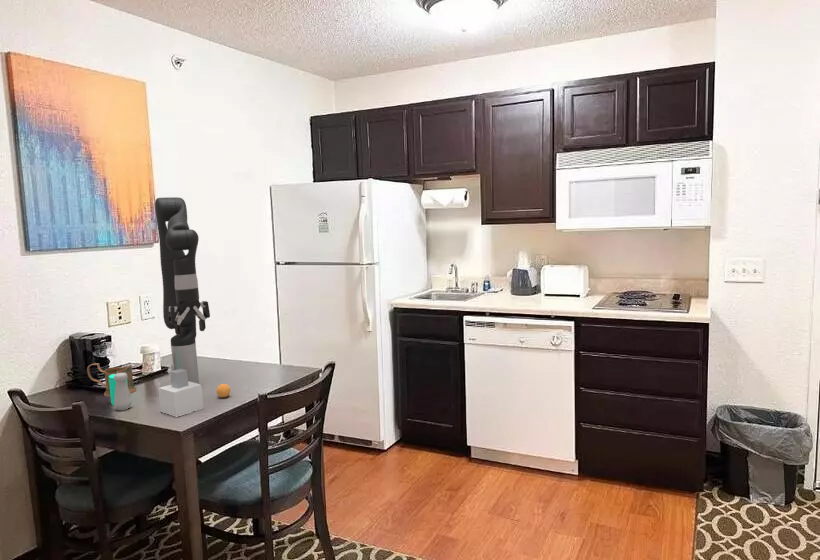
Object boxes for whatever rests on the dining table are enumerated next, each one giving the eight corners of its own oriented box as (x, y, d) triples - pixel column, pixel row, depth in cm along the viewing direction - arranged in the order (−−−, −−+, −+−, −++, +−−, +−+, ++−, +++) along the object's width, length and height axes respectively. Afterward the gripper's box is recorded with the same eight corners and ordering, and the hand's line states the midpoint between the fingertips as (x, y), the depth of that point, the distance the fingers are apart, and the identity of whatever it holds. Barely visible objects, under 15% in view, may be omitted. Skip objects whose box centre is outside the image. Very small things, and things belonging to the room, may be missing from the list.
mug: (98, 389, 230) (95, 360, 229) (141, 387, 230) (138, 358, 229) (82, 398, 219) (78, 367, 217) (128, 396, 219) (124, 365, 217)
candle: (107, 404, 209) (104, 373, 208) (121, 399, 215) (117, 368, 213) (119, 406, 207) (116, 374, 206) (133, 400, 212) (129, 369, 211)
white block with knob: (176, 417, 191) (172, 376, 190) (160, 412, 197) (156, 372, 196) (203, 408, 199) (200, 369, 198) (187, 404, 206) (183, 365, 204)
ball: (215, 399, 209) (214, 386, 208) (218, 395, 214) (217, 382, 213) (229, 398, 210) (228, 385, 209) (232, 394, 215) (231, 381, 214)
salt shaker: (131, 410, 201) (127, 374, 200) (113, 412, 200) (109, 376, 198) (134, 405, 207) (130, 370, 206) (116, 407, 205) (113, 372, 204)
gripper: (172, 290, 190) (176, 337, 191) (211, 285, 200) (215, 330, 202) (161, 289, 195) (166, 335, 196) (200, 284, 205) (204, 328, 207)
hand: (191, 333), depth 199 cm, fingers open, 8 cm apart
